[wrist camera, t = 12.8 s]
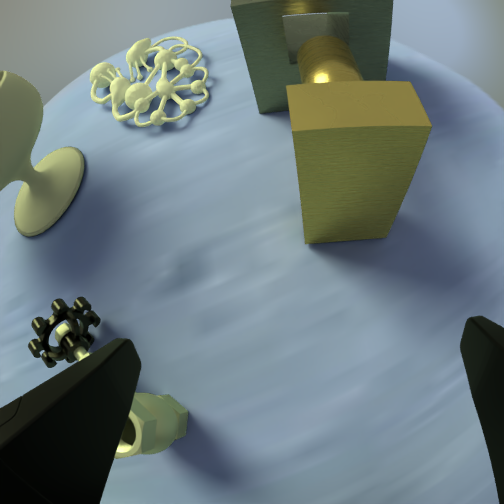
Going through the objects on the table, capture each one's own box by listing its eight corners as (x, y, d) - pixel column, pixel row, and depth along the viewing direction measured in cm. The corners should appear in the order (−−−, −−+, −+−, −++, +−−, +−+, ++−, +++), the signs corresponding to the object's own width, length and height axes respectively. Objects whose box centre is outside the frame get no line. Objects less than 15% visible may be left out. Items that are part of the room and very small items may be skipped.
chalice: (102, 128, 33) (35, 40, 19) (80, 232, 28) (-31, 146, 14) (27, 162, 35) (-39, 99, 21) (3, 254, 30) (-88, 199, 16)
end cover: (386, 237, 22) (432, 126, 11) (305, 244, 23) (291, 131, 12) (359, 125, 26) (366, 11, 15) (293, 129, 27) (275, 15, 16)
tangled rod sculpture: (248, 93, 32) (243, 64, 28) (133, 161, 30) (117, 135, 26) (172, 43, 39) (165, 22, 35) (88, 92, 37) (77, 72, 33)
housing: (382, 105, 26) (393, -2, 15) (259, 113, 28) (230, 6, 17) (358, 51, 30) (357, -37, 19) (257, 58, 32) (234, -28, 21)
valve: (214, 404, 20) (107, 306, 24) (175, 415, 14) (54, 283, 18) (164, 465, 19) (69, 363, 23) (116, 488, 13) (13, 354, 17)
